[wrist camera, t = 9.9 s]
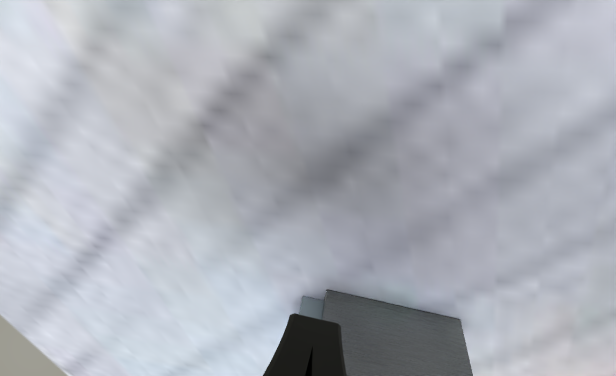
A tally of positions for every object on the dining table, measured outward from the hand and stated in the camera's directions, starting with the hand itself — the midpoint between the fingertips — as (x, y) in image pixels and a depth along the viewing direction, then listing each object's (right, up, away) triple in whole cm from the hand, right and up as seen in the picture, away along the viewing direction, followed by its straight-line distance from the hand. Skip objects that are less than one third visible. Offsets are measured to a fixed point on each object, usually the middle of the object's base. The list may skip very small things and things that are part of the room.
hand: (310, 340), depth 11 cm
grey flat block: (+5, -3, +12) cm, 14 cm away
